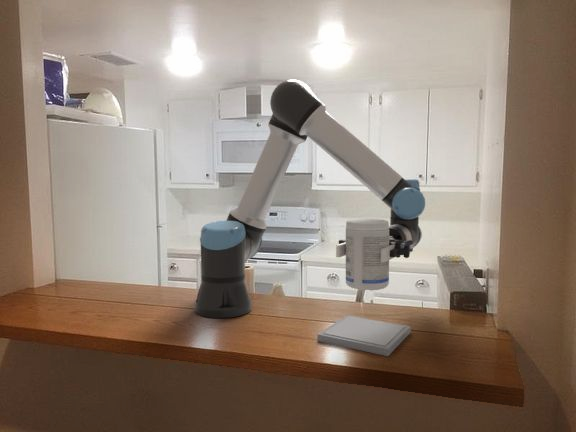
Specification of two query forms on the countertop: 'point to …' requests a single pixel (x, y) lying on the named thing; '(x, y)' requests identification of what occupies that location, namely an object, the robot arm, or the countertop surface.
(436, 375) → the countertop surface
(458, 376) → the countertop surface
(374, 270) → the supplement tub
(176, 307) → the countertop surface
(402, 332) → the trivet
